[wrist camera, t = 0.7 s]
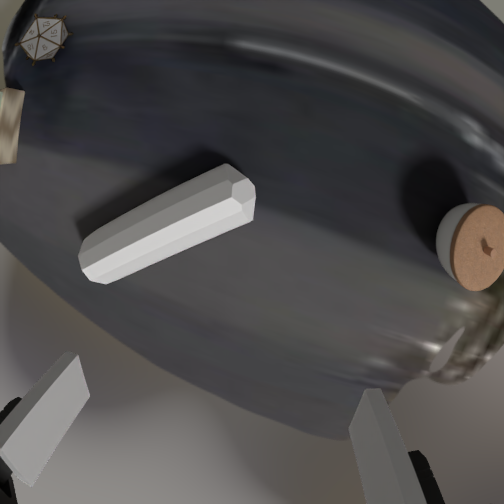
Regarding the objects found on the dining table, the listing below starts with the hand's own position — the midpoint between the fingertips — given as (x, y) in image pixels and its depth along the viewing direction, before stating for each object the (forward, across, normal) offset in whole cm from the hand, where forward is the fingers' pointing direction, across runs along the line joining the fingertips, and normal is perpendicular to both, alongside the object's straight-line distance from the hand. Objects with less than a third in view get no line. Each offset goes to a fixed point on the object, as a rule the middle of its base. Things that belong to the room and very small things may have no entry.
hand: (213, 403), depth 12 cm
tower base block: (+26, -44, +17) cm, 54 cm away
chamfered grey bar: (+26, -10, +2) cm, 28 cm away
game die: (+26, -32, +30) cm, 51 cm away
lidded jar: (+26, +28, +4) cm, 39 cm away
